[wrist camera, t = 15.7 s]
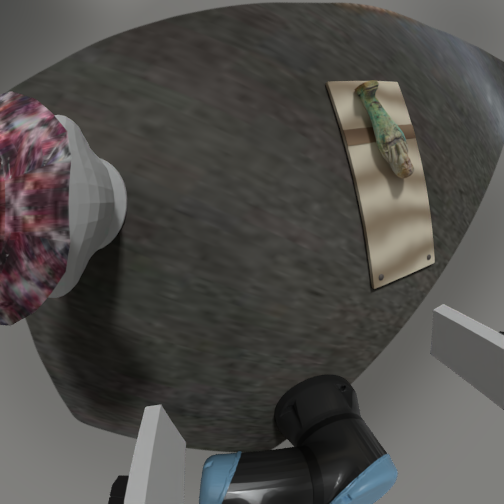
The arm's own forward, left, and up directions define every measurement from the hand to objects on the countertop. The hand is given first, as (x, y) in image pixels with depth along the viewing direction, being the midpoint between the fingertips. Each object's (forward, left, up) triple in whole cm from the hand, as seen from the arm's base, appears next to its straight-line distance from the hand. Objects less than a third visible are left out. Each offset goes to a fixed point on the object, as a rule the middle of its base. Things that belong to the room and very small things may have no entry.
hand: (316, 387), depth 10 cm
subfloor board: (+6, -25, -27) cm, 37 cm away
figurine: (+13, -25, -26) cm, 38 cm away
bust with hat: (+13, +17, -27) cm, 34 cm away
